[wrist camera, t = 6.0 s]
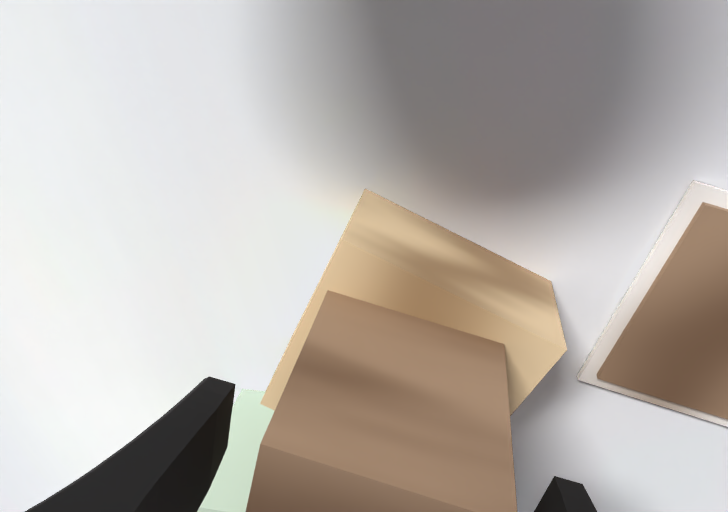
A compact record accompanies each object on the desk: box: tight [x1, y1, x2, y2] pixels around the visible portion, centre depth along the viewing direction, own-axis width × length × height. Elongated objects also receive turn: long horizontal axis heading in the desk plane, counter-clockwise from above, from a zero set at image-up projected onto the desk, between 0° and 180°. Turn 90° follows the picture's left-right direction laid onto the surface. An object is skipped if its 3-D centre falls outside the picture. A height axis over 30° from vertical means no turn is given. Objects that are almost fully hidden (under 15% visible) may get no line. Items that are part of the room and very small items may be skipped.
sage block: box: [197, 389, 274, 512], centre depth 19 cm, size 4×4×5 cm
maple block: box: [260, 189, 567, 416], centre depth 16 cm, size 6×6×4 cm
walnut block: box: [246, 290, 517, 512], centre depth 13 cm, size 4×4×5 cm
